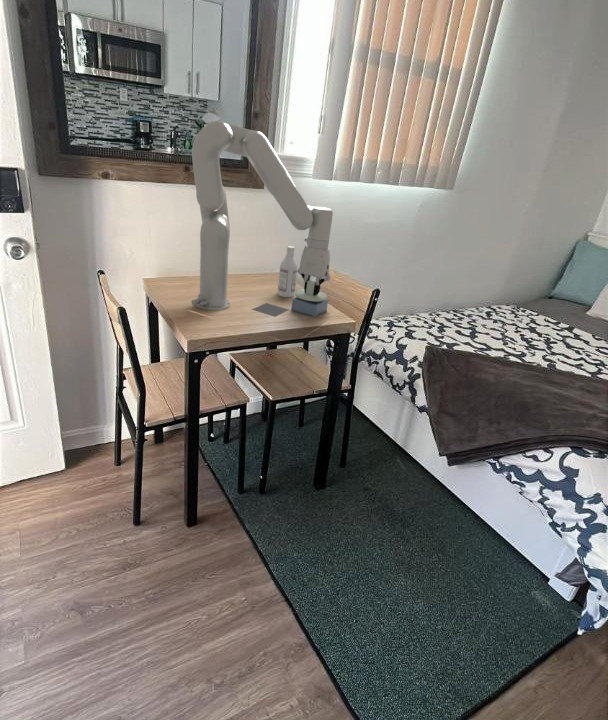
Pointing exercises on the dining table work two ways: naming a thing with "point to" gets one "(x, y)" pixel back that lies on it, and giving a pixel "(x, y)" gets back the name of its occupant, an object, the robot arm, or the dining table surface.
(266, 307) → the mat
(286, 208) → the robot arm
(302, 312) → the dish
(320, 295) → the lid
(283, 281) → the bath foam
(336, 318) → the dining table surface
